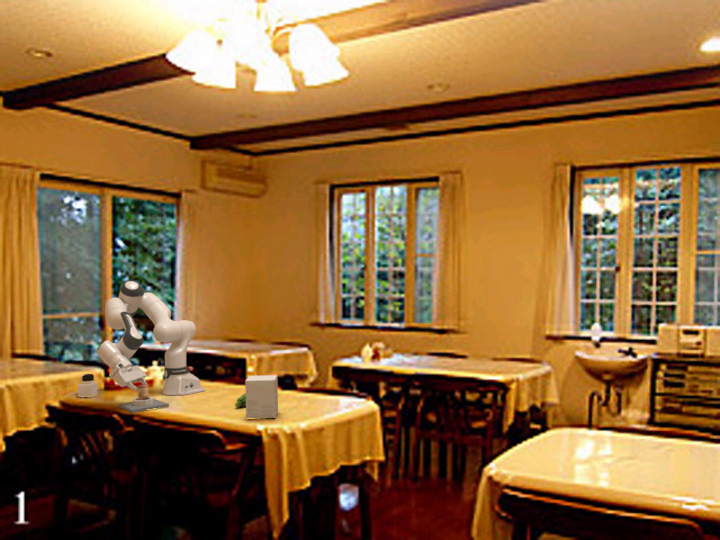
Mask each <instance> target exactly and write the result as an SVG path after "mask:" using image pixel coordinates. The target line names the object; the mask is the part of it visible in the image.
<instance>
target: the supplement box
mask: <svg viewBox="0 0 720 540" xmlns="http://www.w3.org/2000/svg"><path fill="white" fill-rule="evenodd" d="M278 381H279V380H278V374H273V375H249V376H248V377H247V378H246V379H245V381H244V382H245V383H244V385H245V393H246V407H245V419H246V418H275V417H276V418H277V416H278V414H277V413H279V395H278V393H279V391H278V386H279V385H278ZM276 415H277V416H276ZM276 418H275V419H276Z"/></svg>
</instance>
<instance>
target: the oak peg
mask: <svg viewBox="0 0 720 540" xmlns="http://www.w3.org/2000/svg"><path fill="white" fill-rule="evenodd" d="M137 388H138V389H137V390H138V391H137V392H138V394H137V395H138V397H137V398H139V400H148V397H149V385H142V384H140V385H138V386H137Z"/></svg>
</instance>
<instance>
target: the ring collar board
mask: <svg viewBox="0 0 720 540" xmlns="http://www.w3.org/2000/svg"><path fill="white" fill-rule="evenodd" d="M166 406H169V407H170V403H167V402H164V401H162V400H159V399H157V398H154V397H153V396H148V400H139V398H138V397H136V398H135V397H134V398H133V401H128V402H121V403H118V404H117V407H118V408H119V409H122V410H124V411H127V412H129V413H131V414H135V413H141V412H146V411H145V410H147V409H153V408H159V407H166ZM166 408H167V407H166Z"/></svg>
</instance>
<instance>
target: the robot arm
mask: <svg viewBox="0 0 720 540" xmlns="http://www.w3.org/2000/svg"><path fill="white" fill-rule="evenodd" d="M118 294H119V295H118V297H111V298H109V299H108V300H106V303H105V307H104V317H105V322H106V324H107V326H108V327H109V328H111V329H113V330H117V331H118V330H123V329H124V333H123V336H122V337H121V338H120V339H119V340H118V342H112V341H110V340H108V339H107V340H104V341H102V342H101V344H99V345H98V347H97V349H96V353H97V355H98V356H99V358H100V359H101V360H102V361H103V362H104V363H105V365H107V366H109V369H110V370H111V372H110V373H109V374H108V375H109V377H110V378H112V380H113V381H115V383H116V384H117V385H118V386H120V387H121V388H124V387H127V388H129V389H131V390H132V391H133V392H136V391H137V390H138V386H136V385H134V384H135V383H138V382H140V384H141V385H148V383H147V381H146V377H147V374H146V372H145V371H144V370H143V369H142V368H141V367H139V366H138V365H134V364H133V363H132V362H131V361H130V359H131V358H132V357H133V356H134V355H135V353H136V352H137V350H138V349H140V347H141V346H143V345H144V344H143V343H144V337H143V334H141V332H140V330H139V329H138V327H137V324H136V322H135V319H134V316H135V315H136V314H137V313H138V312H137V311H138V309H141V310H142V312H143V313H145V315H146V317H148V318H149V319H150V321H152V323H153V325H154V328H153V331H152V335H153V338H154V340H156V341H157V342H158V343H159V342H160V343H171V344H170V346H169V347H168V349H166V351H165V353H164V368H163V370H164V371H163V377H164V384H163V389H162V393H161V394H162V395H165V396H187V395H190V394H195V393H200V392H201V393H202V392H205V391H206V388H205V387H203V386H202V385H201V380H200V379H199V378H198V377H197V376H195V375H194V374H193V373H191V372H190V371H193V370H194V367H193V366H188V365H187V352H188V351H187V350H188V347H189V345H190V342H191V340H192V339H193V338H194V336H195V334H196V331H197V327H196V324H195V322H193V321H192V320H187V319H186V320H185V319H182V320H181V319H180V320H173V319H171V317H172V311H171V309H170V308H169V307H168V306H167V305H166V304H165V303H164V302H163V301H162V300H161V298H159V297H158V296H157V295H155V294H154V293H153V292H150V291H149V292H148V291H147V292H146V291H145V288H144V287H143V286H142V285H141V284H140V283H138V282H137V281H135V280H126V281H124V282H123V283H122V285H121V287H120V291H119V293H118ZM148 386H149V385H148Z"/></svg>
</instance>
